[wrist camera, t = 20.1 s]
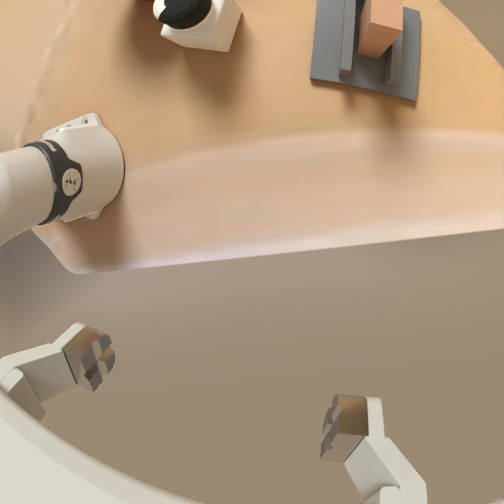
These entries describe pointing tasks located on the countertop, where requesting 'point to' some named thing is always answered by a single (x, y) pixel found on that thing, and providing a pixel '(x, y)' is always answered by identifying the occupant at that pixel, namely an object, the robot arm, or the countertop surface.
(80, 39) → the countertop surface
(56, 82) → the countertop surface
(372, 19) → the tall tan pillar block
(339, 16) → the rack
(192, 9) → the medicine bottle
